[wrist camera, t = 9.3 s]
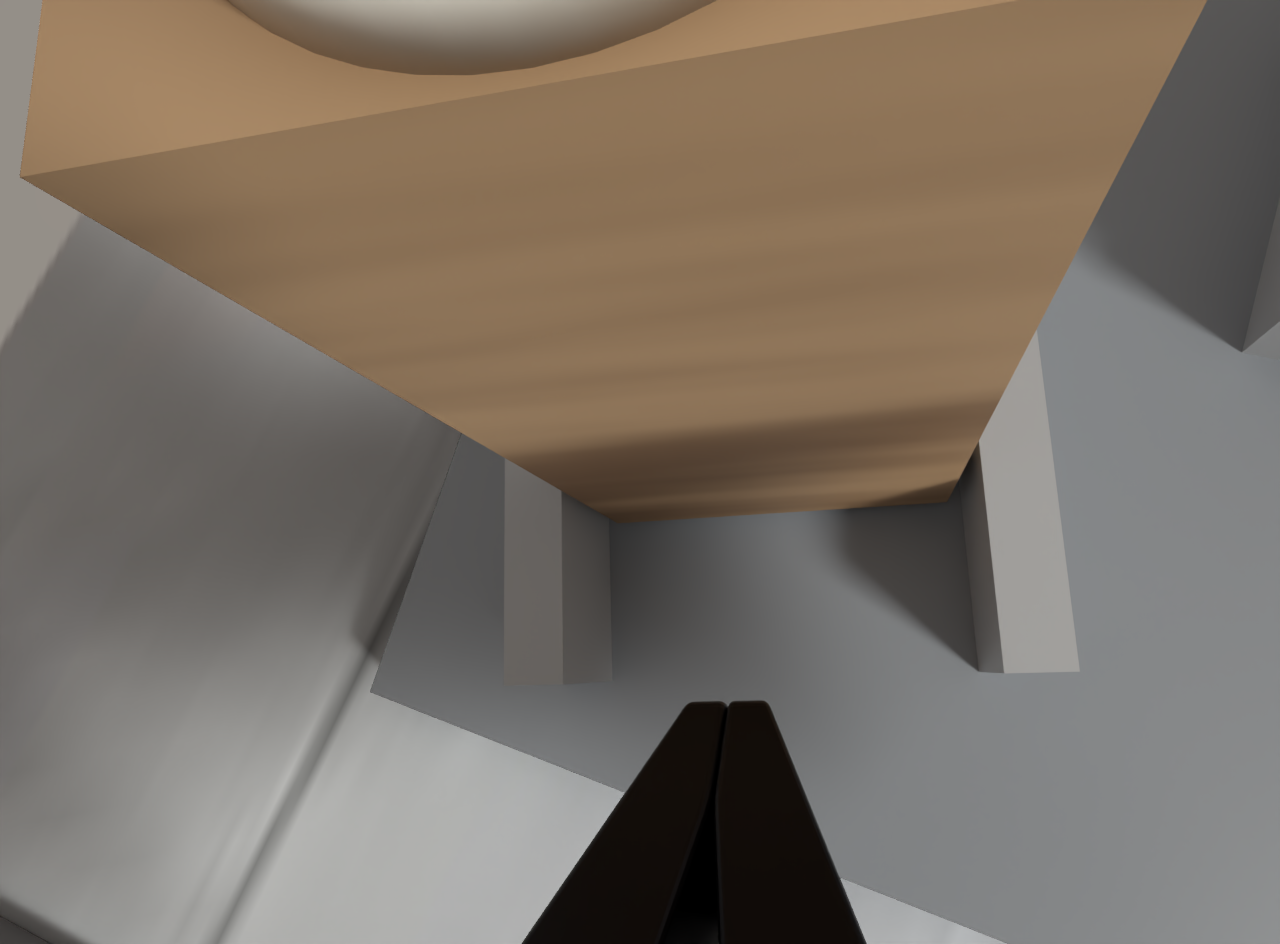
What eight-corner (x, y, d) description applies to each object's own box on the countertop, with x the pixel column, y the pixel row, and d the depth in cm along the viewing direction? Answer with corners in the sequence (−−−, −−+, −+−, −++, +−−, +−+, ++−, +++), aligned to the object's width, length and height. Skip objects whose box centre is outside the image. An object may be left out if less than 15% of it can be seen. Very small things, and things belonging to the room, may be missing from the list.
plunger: (946, 502, 16) (1351, -276, 3) (617, 523, 17) (-177, 62, 4) (921, 240, 17) (1122, -1229, 4) (612, 278, 19) (-31, -715, 5)
